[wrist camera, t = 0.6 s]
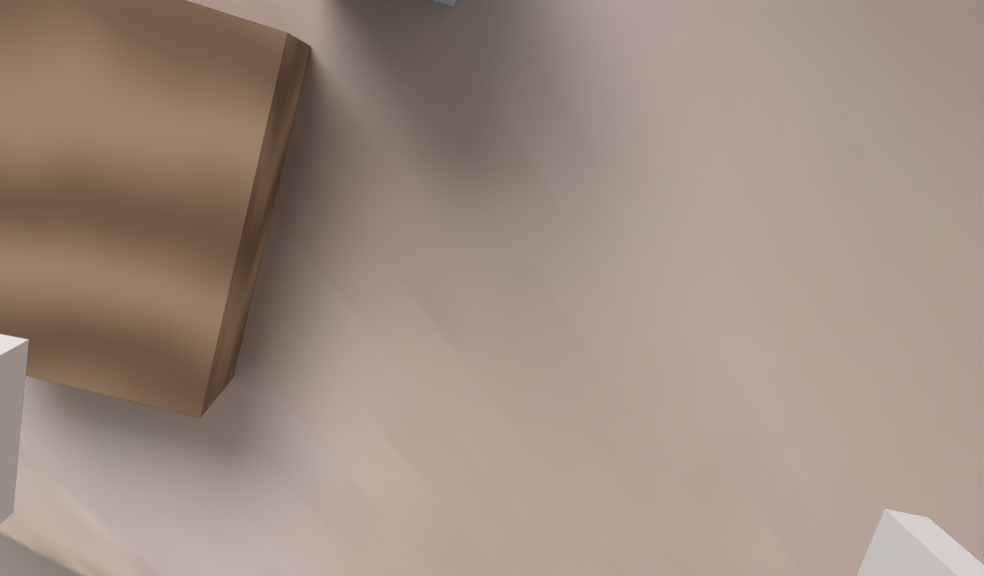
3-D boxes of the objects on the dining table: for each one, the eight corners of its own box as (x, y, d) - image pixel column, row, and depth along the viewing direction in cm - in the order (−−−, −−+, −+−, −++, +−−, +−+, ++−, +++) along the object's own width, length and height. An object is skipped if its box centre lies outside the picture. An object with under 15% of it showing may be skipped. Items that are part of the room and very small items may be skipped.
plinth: (79, -27, 29) (7, -57, 25) (312, 47, 31) (287, 32, 26) (22, 322, 33) (-52, 356, 28) (235, 375, 34) (199, 417, 29)
